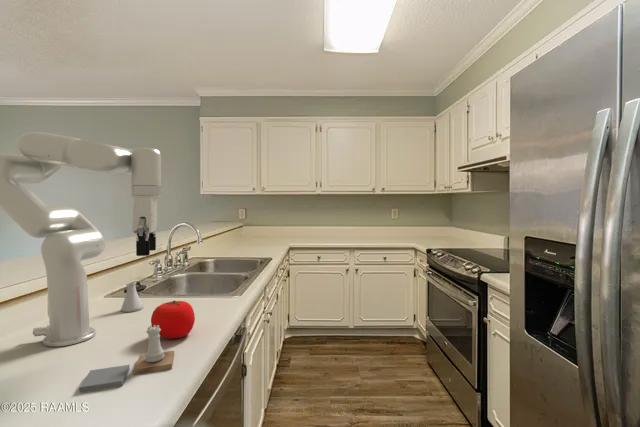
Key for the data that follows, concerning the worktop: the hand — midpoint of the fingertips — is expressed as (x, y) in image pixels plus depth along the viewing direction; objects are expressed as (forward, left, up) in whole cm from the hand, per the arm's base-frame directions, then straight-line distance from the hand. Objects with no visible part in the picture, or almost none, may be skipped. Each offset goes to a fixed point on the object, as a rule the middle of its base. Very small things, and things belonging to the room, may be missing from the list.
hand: (146, 252), depth 101 cm
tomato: (+6, +1, -25) cm, 26 cm away
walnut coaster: (+3, -17, -25) cm, 31 cm away
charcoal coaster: (-6, -22, -25) cm, 34 cm away
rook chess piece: (+3, -17, -24) cm, 30 cm away
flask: (-11, +35, -26) cm, 45 cm away
